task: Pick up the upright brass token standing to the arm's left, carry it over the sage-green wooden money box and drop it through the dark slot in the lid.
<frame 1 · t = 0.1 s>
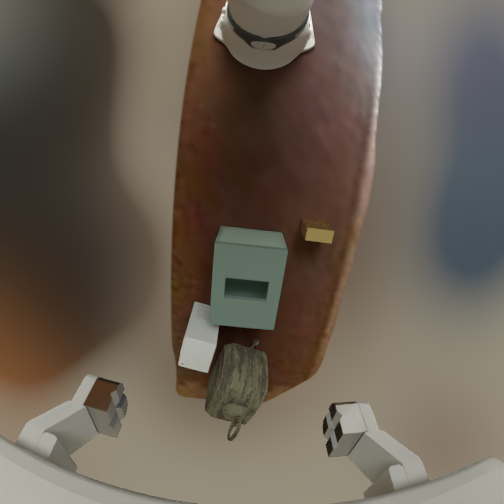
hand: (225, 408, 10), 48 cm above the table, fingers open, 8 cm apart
tabletop clock: (236, 351, 69), on the table
small box: (204, 318, 65), on the table
coin box: (246, 266, 60), on the table
token: (313, 226, 57), on the table
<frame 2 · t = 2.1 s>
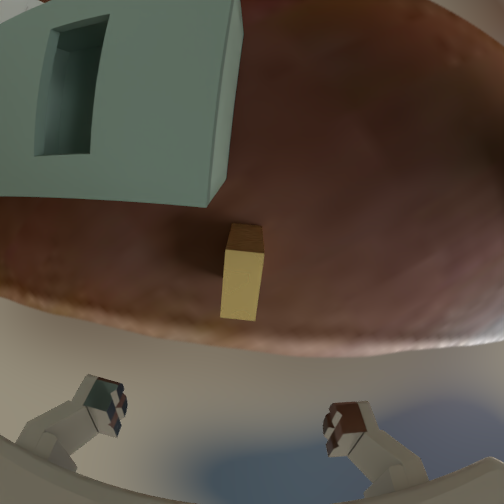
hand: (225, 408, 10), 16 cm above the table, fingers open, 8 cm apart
small box: (31, 43, 17), on the table
coin box: (135, 100, 20), on the table
token: (243, 253, 25), on the table
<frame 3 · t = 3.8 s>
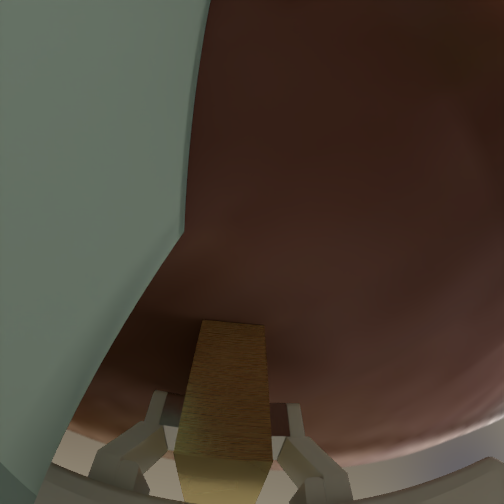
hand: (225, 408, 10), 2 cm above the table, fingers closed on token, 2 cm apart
coin box: (19, 80, 7), on the table
token: (229, 368, 12), on the table, touching gripper
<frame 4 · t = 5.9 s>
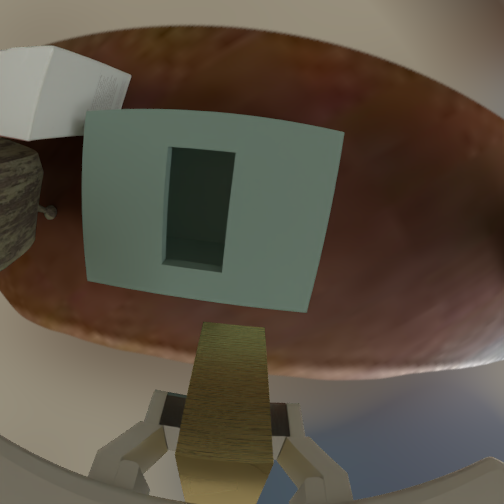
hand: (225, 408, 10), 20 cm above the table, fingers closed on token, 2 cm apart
tabletop clock: (29, 174, 26), on the table
small box: (92, 100, 23), on the table
coin box: (216, 186, 27), on the table
token: (229, 369, 12), point 17 cm above the table, touching gripper
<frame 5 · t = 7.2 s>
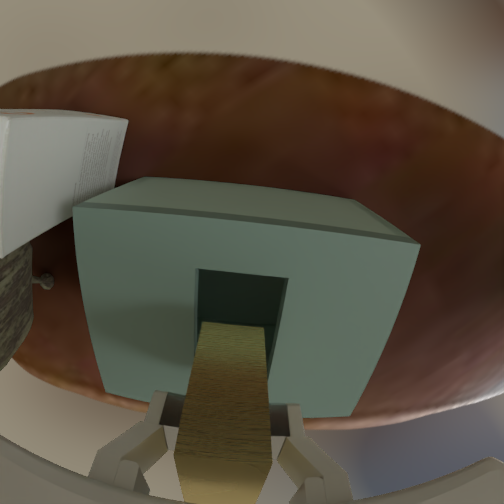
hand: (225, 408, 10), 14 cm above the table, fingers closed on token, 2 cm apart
tabletop clock: (18, 234, 22), on the table
small box: (82, 150, 20), on the table
coin box: (241, 261, 23), on the table
token: (229, 369, 12), point 12 cm above the table, touching gripper
when the fingers open (12 cm above the table, at t = 7.8 s): token drops 9 cm, resting on coin box.
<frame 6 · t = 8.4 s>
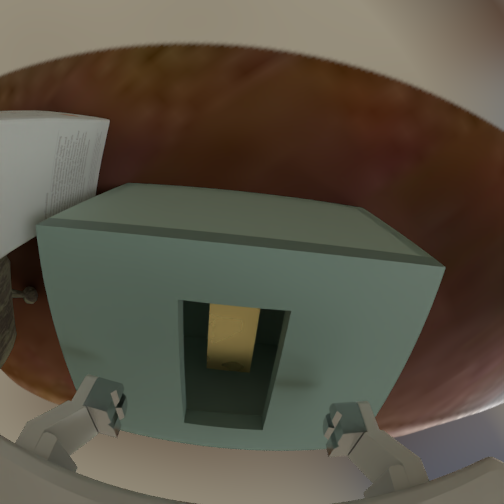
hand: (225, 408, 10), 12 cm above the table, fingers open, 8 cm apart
tabletop clock: (0, 244, 20), on the table
small box: (61, 154, 17), on the table
coin box: (236, 276, 21), on the table
token: (236, 282, 20), point 1 cm above the table, touching coin box
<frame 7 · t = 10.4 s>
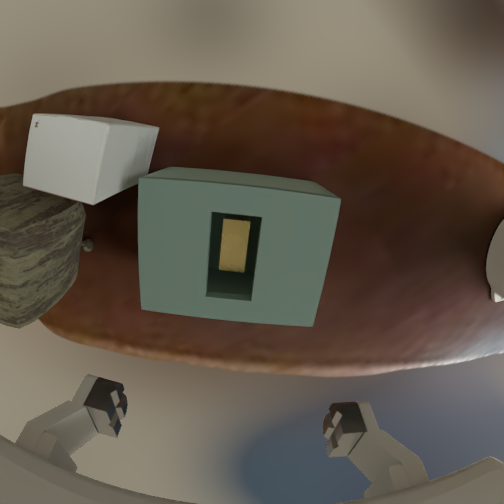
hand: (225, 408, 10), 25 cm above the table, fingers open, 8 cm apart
tabletop clock: (63, 210, 32), on the table
small box: (123, 147, 30), on the table
coin box: (236, 225, 33), on the table
token: (236, 227, 33), point 1 cm above the table, touching coin box
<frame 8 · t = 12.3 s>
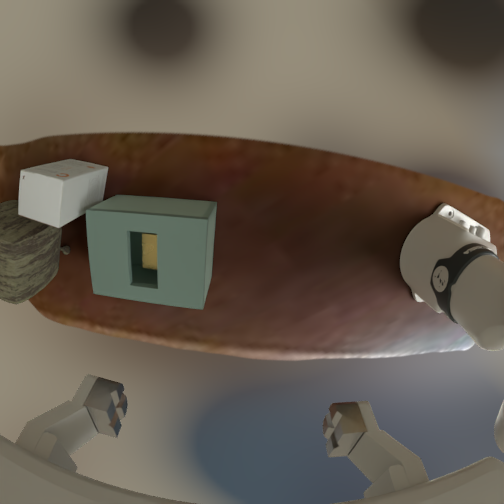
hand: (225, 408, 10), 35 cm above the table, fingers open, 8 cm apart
tabletop clock: (49, 224, 44), on the table
small box: (86, 181, 41), on the table
coin box: (163, 235, 44), on the table
token: (162, 237, 44), point 1 cm above the table, touching coin box
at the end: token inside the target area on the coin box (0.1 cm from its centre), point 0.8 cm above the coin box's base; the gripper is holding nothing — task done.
